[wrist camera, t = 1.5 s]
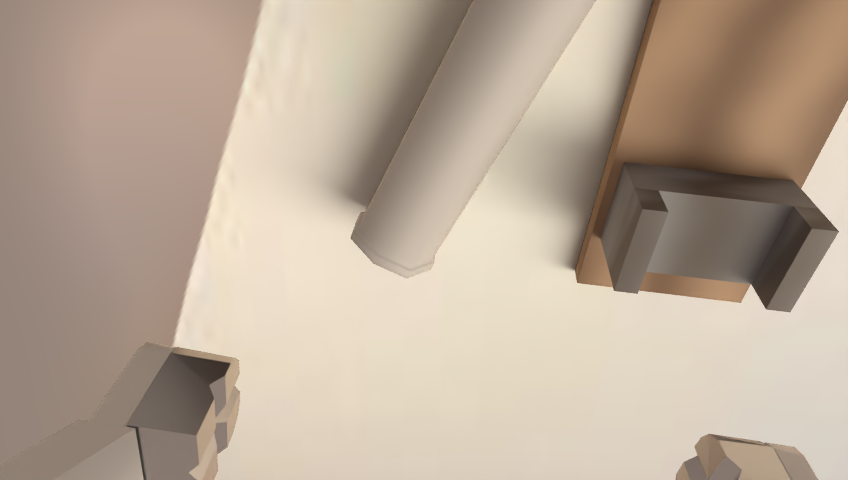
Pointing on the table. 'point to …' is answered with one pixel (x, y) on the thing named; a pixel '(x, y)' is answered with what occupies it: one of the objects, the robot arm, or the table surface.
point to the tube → (463, 125)
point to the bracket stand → (721, 152)
